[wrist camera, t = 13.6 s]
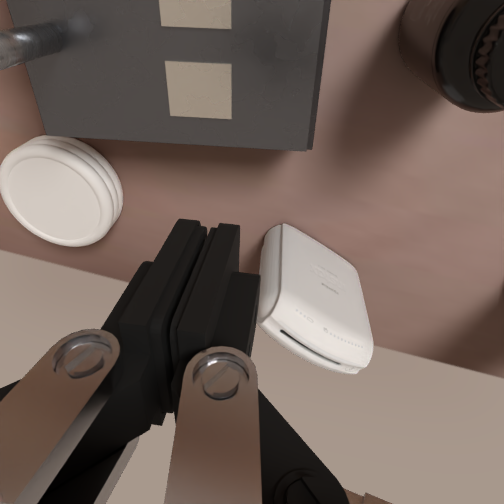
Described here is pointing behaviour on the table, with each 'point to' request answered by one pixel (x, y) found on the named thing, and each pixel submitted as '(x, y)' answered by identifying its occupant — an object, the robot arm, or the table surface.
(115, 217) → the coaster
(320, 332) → the photo printer
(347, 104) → the table surface
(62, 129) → the grey lever box
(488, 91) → the supplement bottle
